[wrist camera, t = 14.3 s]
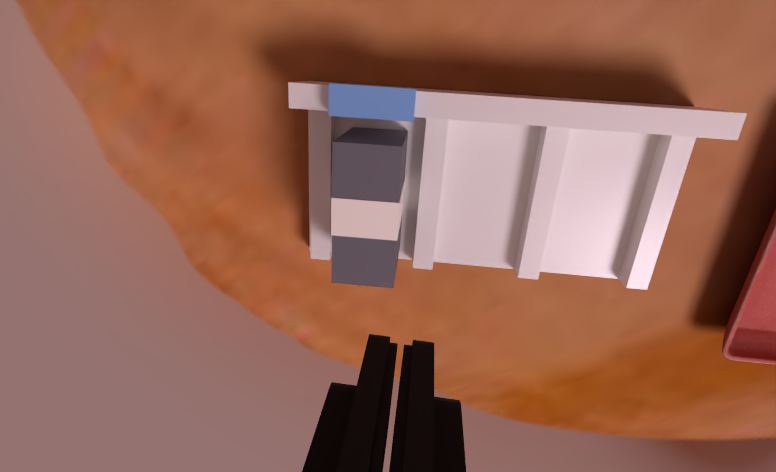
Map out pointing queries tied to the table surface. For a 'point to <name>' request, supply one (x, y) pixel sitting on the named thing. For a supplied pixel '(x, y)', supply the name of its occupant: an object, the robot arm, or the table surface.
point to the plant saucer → (756, 308)
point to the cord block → (367, 205)
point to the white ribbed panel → (517, 175)
